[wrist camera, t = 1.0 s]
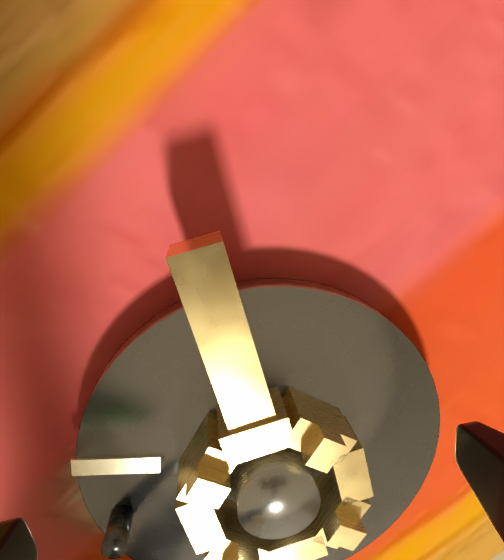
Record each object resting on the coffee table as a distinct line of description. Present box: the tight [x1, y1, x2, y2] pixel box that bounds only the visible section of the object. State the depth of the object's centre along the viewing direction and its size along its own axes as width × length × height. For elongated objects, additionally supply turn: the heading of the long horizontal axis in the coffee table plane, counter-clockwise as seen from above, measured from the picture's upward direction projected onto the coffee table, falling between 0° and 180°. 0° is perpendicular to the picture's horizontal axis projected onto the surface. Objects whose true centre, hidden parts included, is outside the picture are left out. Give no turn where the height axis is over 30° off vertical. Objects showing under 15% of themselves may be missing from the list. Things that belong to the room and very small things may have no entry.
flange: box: [71, 278, 440, 560], centre depth 20 cm, size 20×20×4 cm
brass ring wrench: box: [166, 230, 373, 560], centre depth 17 cm, size 18×9×3 cm, turn 15°
